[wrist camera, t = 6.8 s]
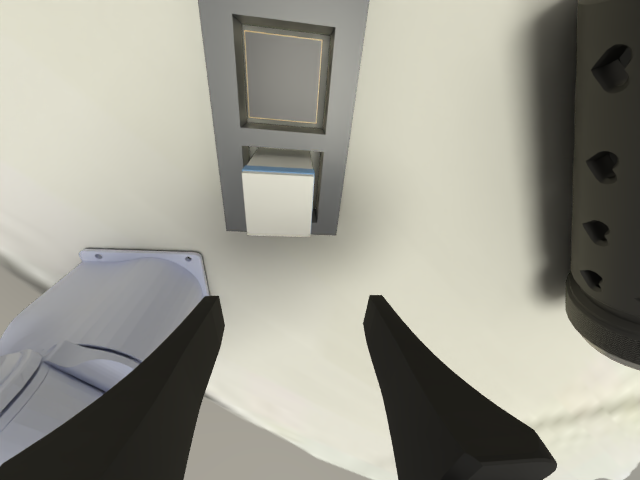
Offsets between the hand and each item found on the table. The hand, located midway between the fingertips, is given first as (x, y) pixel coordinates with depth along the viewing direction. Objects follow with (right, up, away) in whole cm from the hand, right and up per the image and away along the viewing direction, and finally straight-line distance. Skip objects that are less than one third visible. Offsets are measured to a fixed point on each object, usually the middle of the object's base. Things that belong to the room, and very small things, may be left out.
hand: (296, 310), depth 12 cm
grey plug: (-1, +8, +6) cm, 11 cm away
